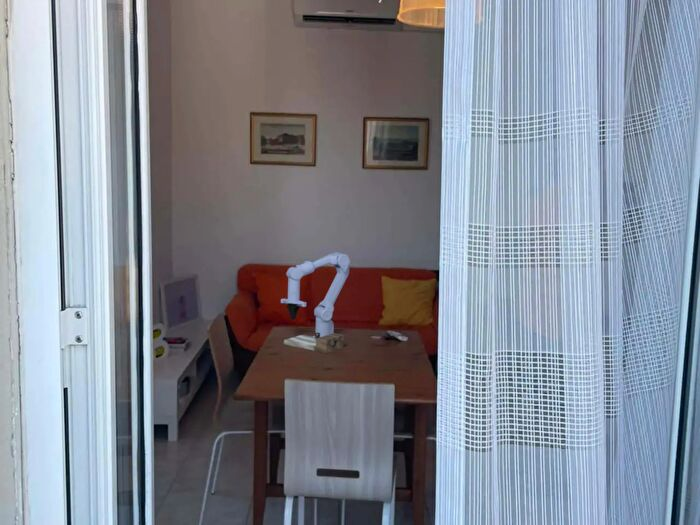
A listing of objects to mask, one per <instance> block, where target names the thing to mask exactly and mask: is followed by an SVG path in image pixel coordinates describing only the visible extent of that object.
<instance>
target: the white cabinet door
mask: <svg viewBox="0 0 700 525" xmlns="http://www.w3.org/2000/svg"><path fill="white" fill-rule="evenodd" d="M314 338H315V337H312V336H311V335H306V334H300V335H297V336H294V337H290V338H286V339H284V340H283V345H286V346H291V347H296V348H301V349H303V350H304V349H305V350H310V351H313V352H319V353H323V354H330V353H331V352H335V351H337V350H340V349H344V342H345V340H344V339H345V335H344V334H340V333H336V332H334V333H332V334H329V335H326V336H322V337H319V338H316V343H315V342H314ZM333 341H335V345H333Z"/></svg>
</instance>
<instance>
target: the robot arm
mask: <svg viewBox="0 0 700 525" xmlns="http://www.w3.org/2000/svg"><path fill="white" fill-rule="evenodd" d="M330 264H332V265H334V268H335V270H336V272H337V273H336V275H335V277H334V279H333V281H332V283H331V285H330V287H329V289H328V291H327V292H326V295H325V297H324V299H322V301H320V302H319V304H318V305H317V306H316V307H315V308H314V310H313V314H314V316H315V332H314V334H315V333H320V337H322V336H326V335H329V334H332V333H335V332H334V331H335V330H334V329H335V328H334V327H335V325H334V322H333V320H331V319H332V318H333V313H334V310H335V307H334V304H335V303H336V300H337V298H338V296H339V294H340V292H341V290H342V289H343V286H344V284H345V282H346V280H347V278H348V277H349V274H350V264H351V260H350V257H349V256H348V254H345V253H340V252H337V251H334V252H333V253H329V254H327V255H326V256H323V257H321V258H319V259H317V260H314V261H309V260H308V261H307V260H306V261H305V260H304V262H303V263H301V264H296V265H295V266H290V267H289V268H288V269H287V271H286V272H285V275H286V276H287V278H288V279H287V280H288V281H287V298H281V299H280V304H287V305H286V308H287V311H288V313H289V314H288V315H289V317H290V320H292V321H294V320H296V317H297V314H298V312H299V309H300V308H301V307H303V308H305V307H307V302H306V301H302V300H300V296H301V295H300V293H301V292H300V291H301V290H300V288H301V286H300V285H301V279H302V278H303V277H304V276H306V275H307V276H308V275H310V274H312V273H314V272H315V269H319V268H320V267H323V266H326V265H330ZM311 337H315V335H313V336H311Z"/></svg>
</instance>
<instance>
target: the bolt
mask: <svg viewBox="0 0 700 525" xmlns="http://www.w3.org/2000/svg"><path fill="white" fill-rule="evenodd" d="M314 336H315V338H314V342H315V343H316V338H319V337H320V333H315V332H314ZM333 345H335V341H333Z"/></svg>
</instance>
